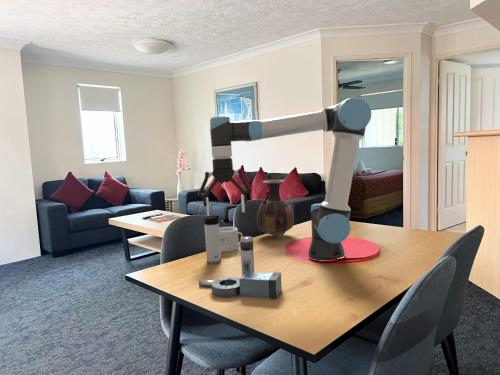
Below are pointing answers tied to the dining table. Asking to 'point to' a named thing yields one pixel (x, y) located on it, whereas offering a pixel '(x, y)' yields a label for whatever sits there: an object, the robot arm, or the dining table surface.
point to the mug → (229, 239)
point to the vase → (274, 212)
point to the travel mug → (212, 239)
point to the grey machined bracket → (247, 285)
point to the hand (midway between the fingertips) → (225, 213)
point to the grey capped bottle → (247, 254)
